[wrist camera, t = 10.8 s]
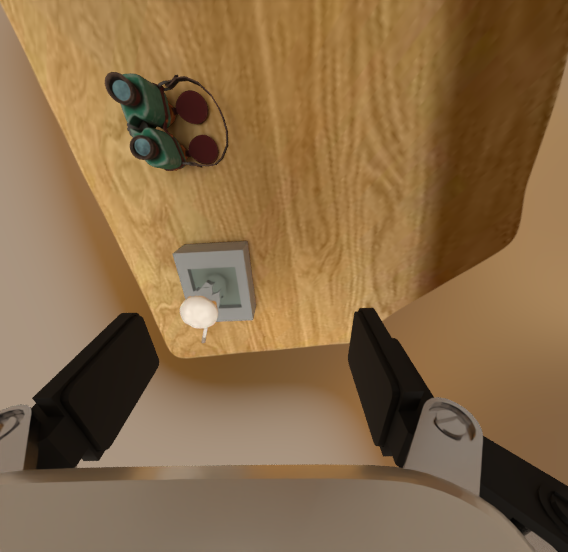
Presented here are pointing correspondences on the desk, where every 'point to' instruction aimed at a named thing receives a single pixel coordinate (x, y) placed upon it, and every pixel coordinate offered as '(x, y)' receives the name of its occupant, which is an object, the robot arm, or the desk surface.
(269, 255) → the desk surface
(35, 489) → the robot arm
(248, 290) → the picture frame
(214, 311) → the milkshake
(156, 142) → the binoculars
